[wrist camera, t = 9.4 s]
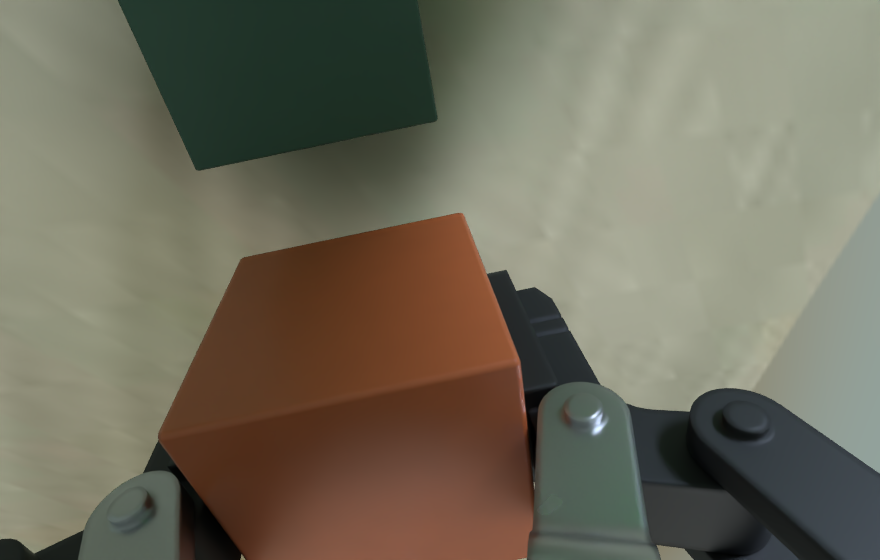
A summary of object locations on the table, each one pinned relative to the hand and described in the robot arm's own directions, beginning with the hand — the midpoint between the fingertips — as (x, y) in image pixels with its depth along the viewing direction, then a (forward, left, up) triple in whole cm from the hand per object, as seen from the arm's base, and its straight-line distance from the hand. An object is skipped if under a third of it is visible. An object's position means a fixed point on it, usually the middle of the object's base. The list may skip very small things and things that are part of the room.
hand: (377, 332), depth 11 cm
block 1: (+6, 0, -5) cm, 8 cm away
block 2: (0, 0, 0) cm, 0 cm away
